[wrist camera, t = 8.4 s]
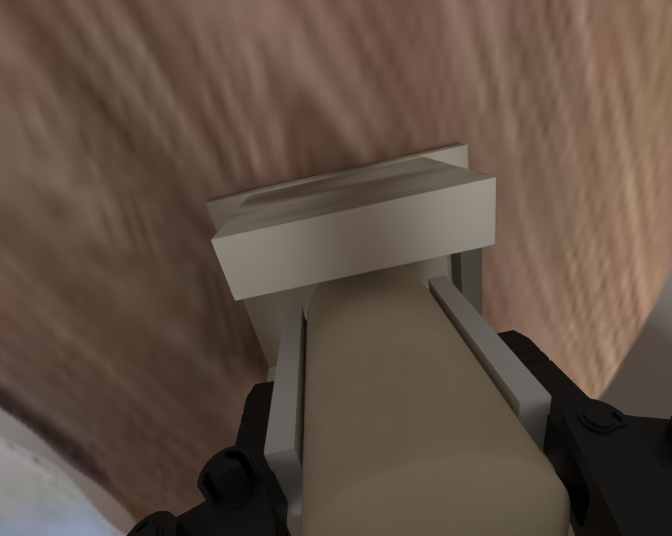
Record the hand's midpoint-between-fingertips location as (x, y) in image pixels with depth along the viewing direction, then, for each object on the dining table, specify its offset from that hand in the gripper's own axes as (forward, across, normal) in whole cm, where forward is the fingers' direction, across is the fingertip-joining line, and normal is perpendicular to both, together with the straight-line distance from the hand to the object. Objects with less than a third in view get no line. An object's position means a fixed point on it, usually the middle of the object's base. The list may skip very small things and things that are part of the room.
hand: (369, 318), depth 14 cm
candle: (+1, 0, 0) cm, 1 cm away
